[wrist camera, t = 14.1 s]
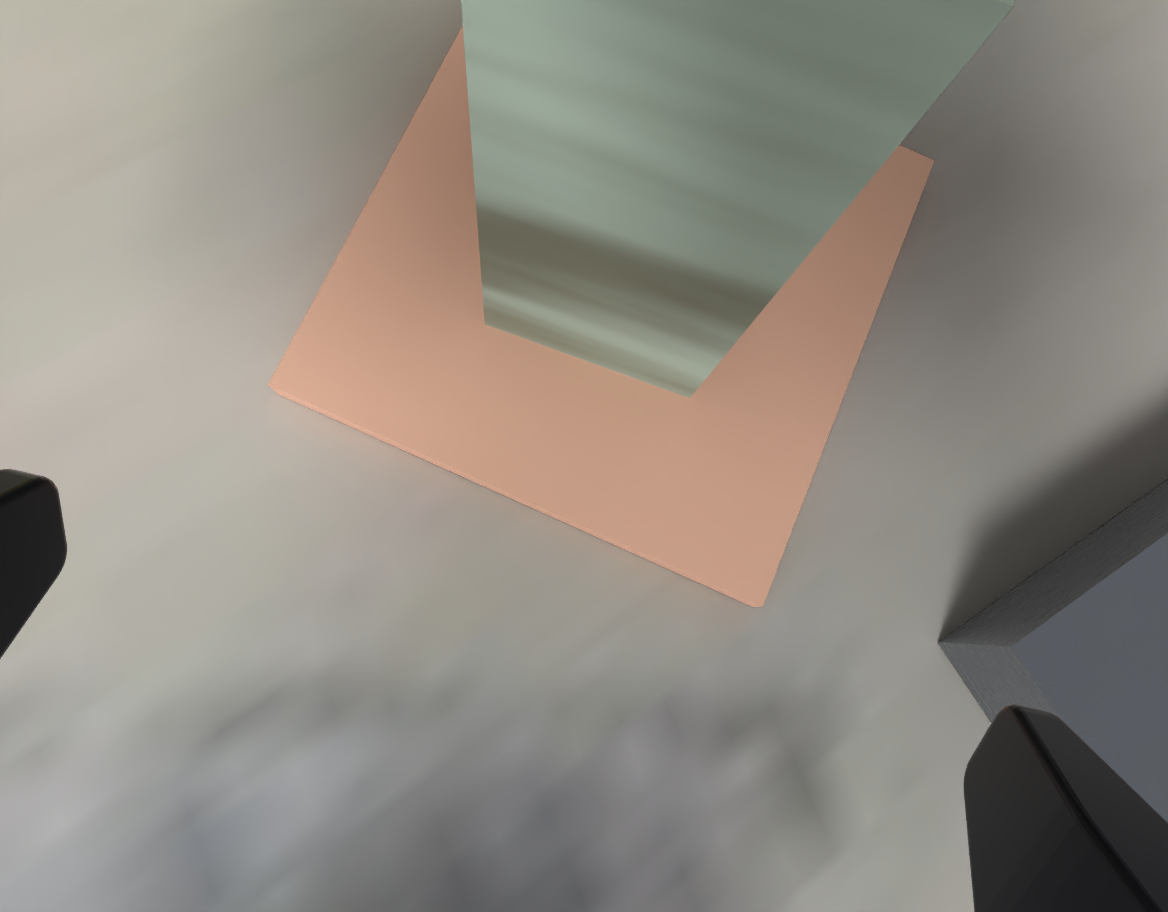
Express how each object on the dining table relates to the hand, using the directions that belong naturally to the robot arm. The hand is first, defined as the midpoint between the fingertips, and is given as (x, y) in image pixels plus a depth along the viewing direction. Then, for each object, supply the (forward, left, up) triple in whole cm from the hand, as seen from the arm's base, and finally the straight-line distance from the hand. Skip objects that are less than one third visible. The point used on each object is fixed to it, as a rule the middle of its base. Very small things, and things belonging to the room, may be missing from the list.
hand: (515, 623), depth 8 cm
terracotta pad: (+9, +1, -12) cm, 14 cm away
